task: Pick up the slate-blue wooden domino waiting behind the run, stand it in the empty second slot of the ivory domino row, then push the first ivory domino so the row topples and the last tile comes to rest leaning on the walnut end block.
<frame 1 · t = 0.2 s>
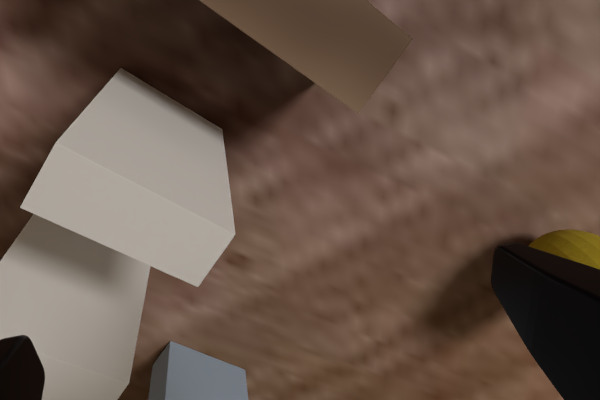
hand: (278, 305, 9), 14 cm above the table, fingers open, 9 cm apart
lemon: (531, 245, 29), on the table
blue domino: (200, 367, 28), on the table
domino 4: (162, 118, 21), on the table
domino 3: (99, 221, 23), on the table
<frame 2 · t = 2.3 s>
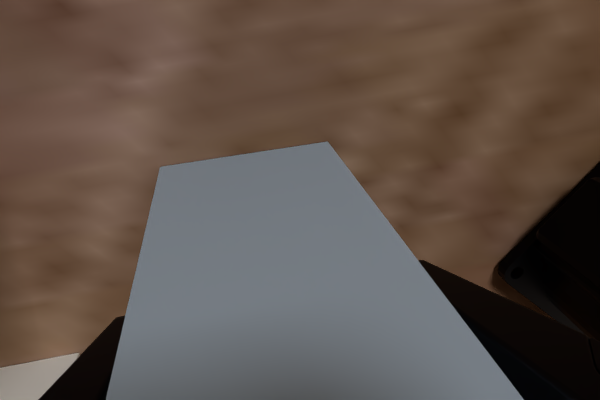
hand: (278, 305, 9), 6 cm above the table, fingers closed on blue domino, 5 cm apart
blue domino: (250, 184, 14), on the table, touching gripper
domino 1: (11, 389, 16), on the table
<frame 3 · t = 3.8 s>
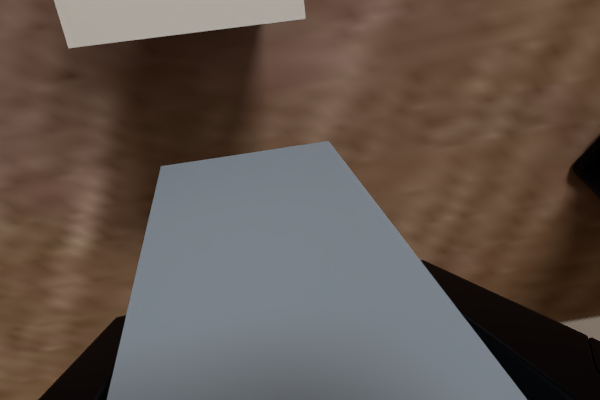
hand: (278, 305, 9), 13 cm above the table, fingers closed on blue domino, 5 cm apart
blue domino: (251, 184, 14), point 7 cm above the table, touching gripper
when the fingers open (7 cm above the table, at t = 5.4 s): blue domino drops 1 cm, on the table.
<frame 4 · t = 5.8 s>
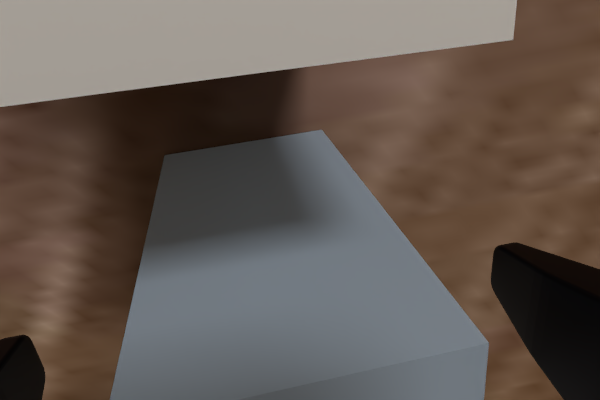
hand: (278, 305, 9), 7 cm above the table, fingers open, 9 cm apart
blue domino: (249, 171, 15), on the table
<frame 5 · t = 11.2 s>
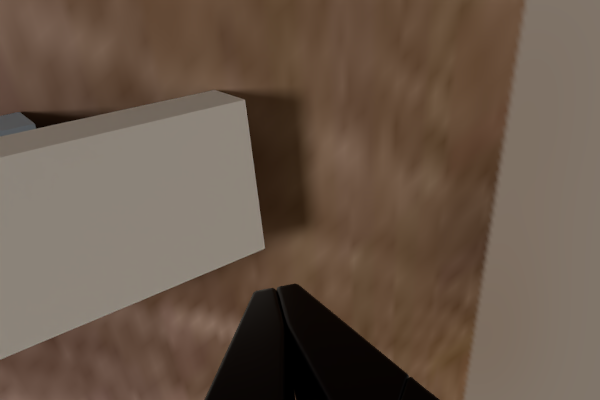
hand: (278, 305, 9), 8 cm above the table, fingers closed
blue domino: (53, 195, 15), point 1 cm above the table, tilted 61°, touching domino 1, domino 3
domino 1: (240, 170, 15), point 1 cm above the table, tilted 66°, touching blue domino
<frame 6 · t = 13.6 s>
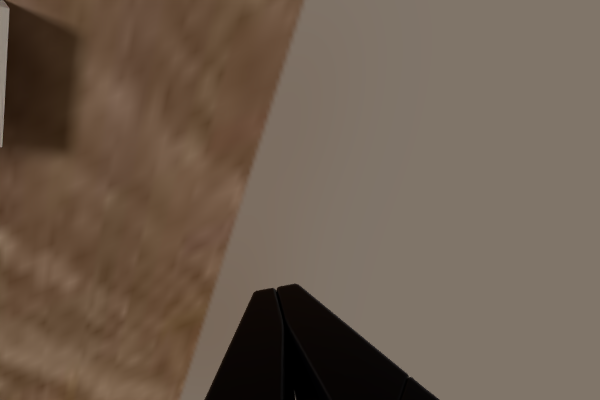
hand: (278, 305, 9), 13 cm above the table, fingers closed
domino 1: (2, 73, 17), point 1 cm above the table, tilted 65°, touching blue domino
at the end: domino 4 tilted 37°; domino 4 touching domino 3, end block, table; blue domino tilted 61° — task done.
